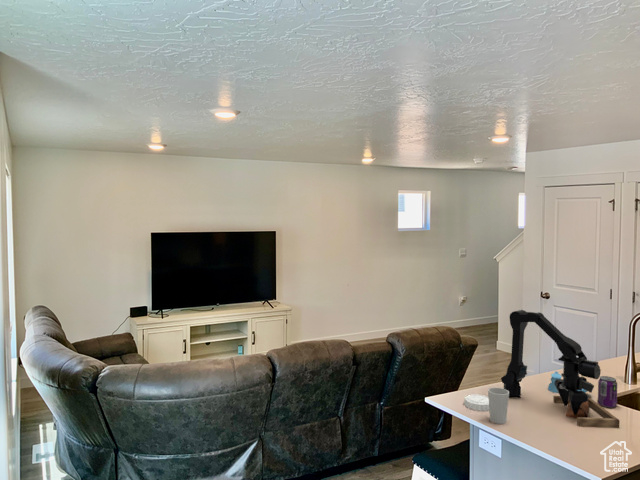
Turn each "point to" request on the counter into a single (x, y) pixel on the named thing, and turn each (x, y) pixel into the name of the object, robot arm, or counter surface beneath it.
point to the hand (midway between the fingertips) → (570, 410)
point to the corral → (606, 421)
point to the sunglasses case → (582, 411)
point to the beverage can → (607, 391)
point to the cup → (498, 404)
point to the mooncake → (477, 402)
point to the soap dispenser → (552, 385)
